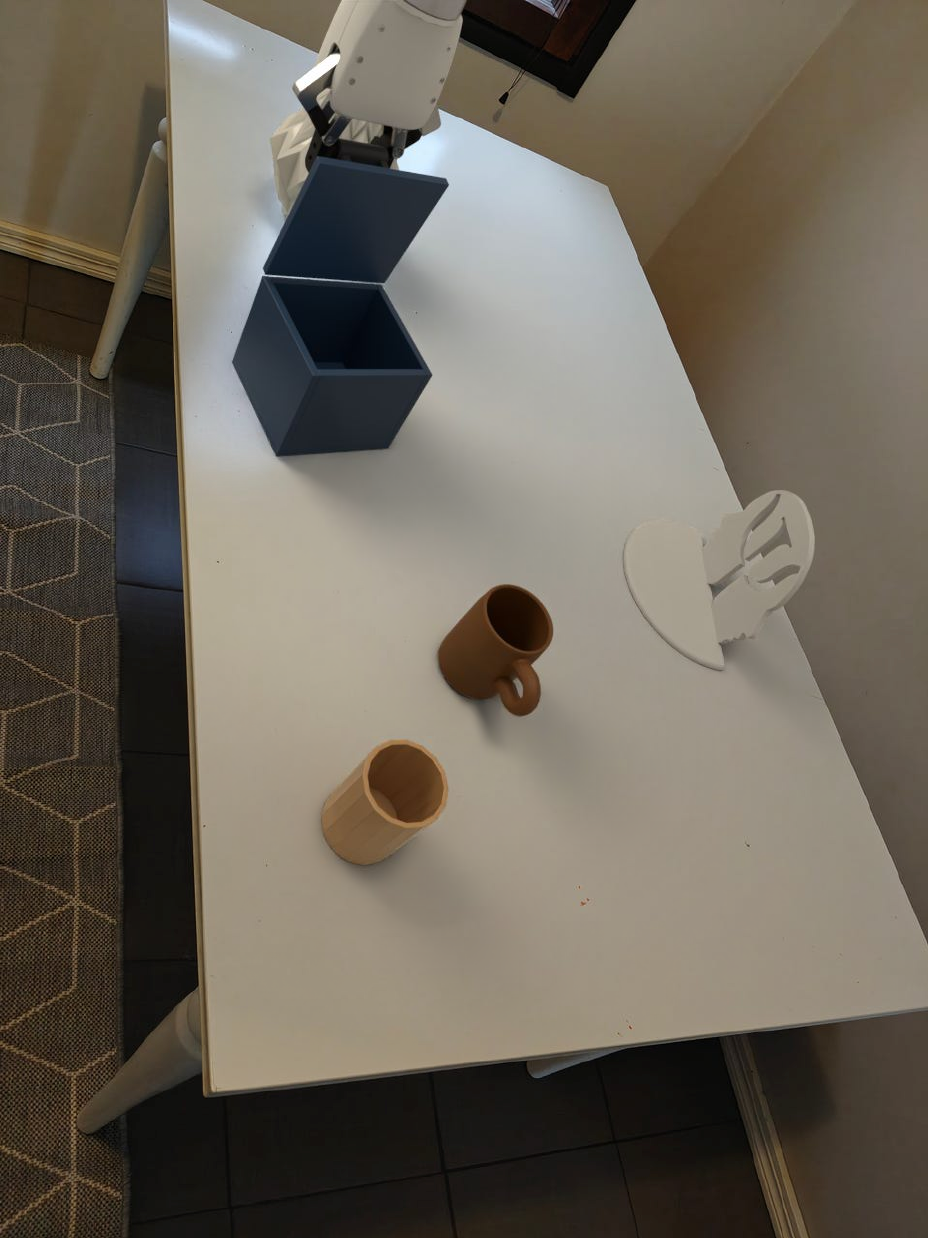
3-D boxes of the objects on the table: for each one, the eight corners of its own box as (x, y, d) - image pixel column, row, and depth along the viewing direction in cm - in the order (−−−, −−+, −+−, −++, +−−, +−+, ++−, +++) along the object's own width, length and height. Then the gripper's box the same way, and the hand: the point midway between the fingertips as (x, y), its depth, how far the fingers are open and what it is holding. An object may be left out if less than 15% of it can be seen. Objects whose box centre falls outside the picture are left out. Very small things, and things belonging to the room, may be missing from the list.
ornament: (723, 672, 101) (833, 598, 88) (631, 641, 96) (734, 558, 84) (698, 531, 113) (791, 449, 101) (616, 498, 109) (704, 407, 96)
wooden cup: (311, 849, 66) (354, 809, 60) (332, 772, 70) (374, 726, 64) (390, 876, 68) (440, 840, 61) (406, 799, 72) (454, 758, 66)
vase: (235, 172, 107) (279, 21, 93) (350, 195, 116) (406, 60, 103) (274, 264, 101) (327, 117, 87) (392, 280, 110) (456, 150, 97)
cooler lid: (449, 184, 79) (428, 138, 80) (320, 163, 70) (298, 111, 71) (384, 283, 89) (366, 241, 90) (265, 274, 81) (246, 228, 82)
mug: (523, 744, 81) (579, 701, 74) (454, 746, 77) (505, 701, 70) (494, 634, 87) (542, 584, 80) (428, 631, 83) (473, 578, 76)
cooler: (388, 448, 94) (433, 374, 85) (276, 456, 85) (313, 375, 77) (343, 362, 98) (381, 283, 89) (231, 361, 89) (262, 275, 81)
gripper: (484, -23, 73) (399, 167, 86) (307, -87, 63) (241, 140, 76) (524, 32, 71) (430, 219, 84) (347, -25, 60) (272, 198, 74)
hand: (341, 179), depth 80 cm, fingers closed on cooler lid, 5 cm apart
